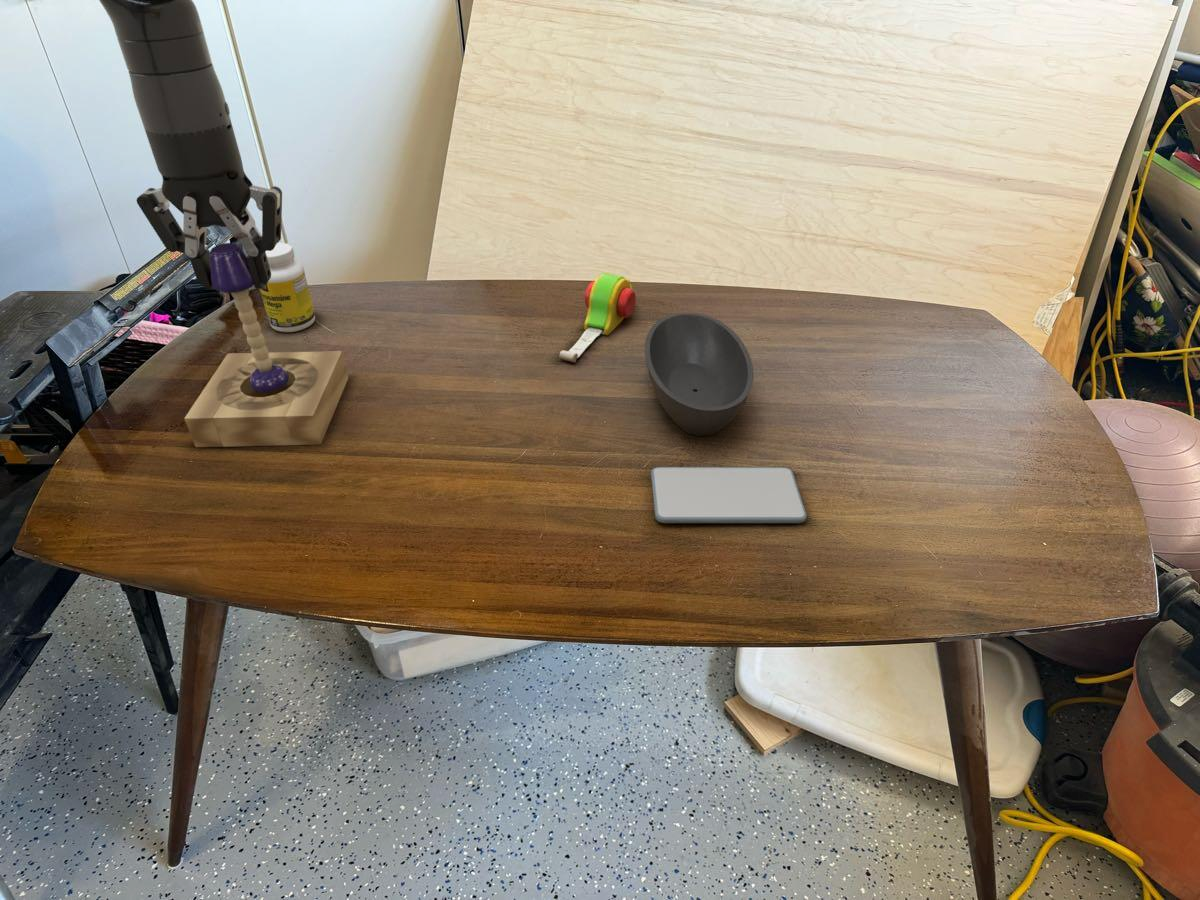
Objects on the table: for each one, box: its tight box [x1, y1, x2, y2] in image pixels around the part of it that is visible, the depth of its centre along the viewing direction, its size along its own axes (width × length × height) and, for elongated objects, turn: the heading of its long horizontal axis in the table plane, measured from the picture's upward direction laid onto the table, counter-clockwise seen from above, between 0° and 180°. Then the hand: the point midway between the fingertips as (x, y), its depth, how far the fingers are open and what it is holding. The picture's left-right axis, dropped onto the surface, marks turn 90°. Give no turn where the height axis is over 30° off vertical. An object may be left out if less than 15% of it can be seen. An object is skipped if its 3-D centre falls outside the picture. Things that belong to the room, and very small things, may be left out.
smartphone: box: [650, 466, 808, 524], centre depth 81 cm, size 8×1×15 cm
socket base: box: [183, 350, 349, 448], centre depth 94 cm, size 14×14×4 cm
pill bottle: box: [259, 242, 316, 333], centre depth 109 cm, size 6×6×11 cm
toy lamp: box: [209, 242, 289, 392], centre depth 87 cm, size 5×5×17 cm
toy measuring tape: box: [558, 272, 637, 363], centre depth 108 cm, size 6×20×7 cm, turn 154°
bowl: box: [644, 312, 754, 437], centre depth 94 cm, size 12×22×6 cm, turn 3°
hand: (237, 285), depth 85 cm, fingers closed on toy lamp, 4 cm apart
